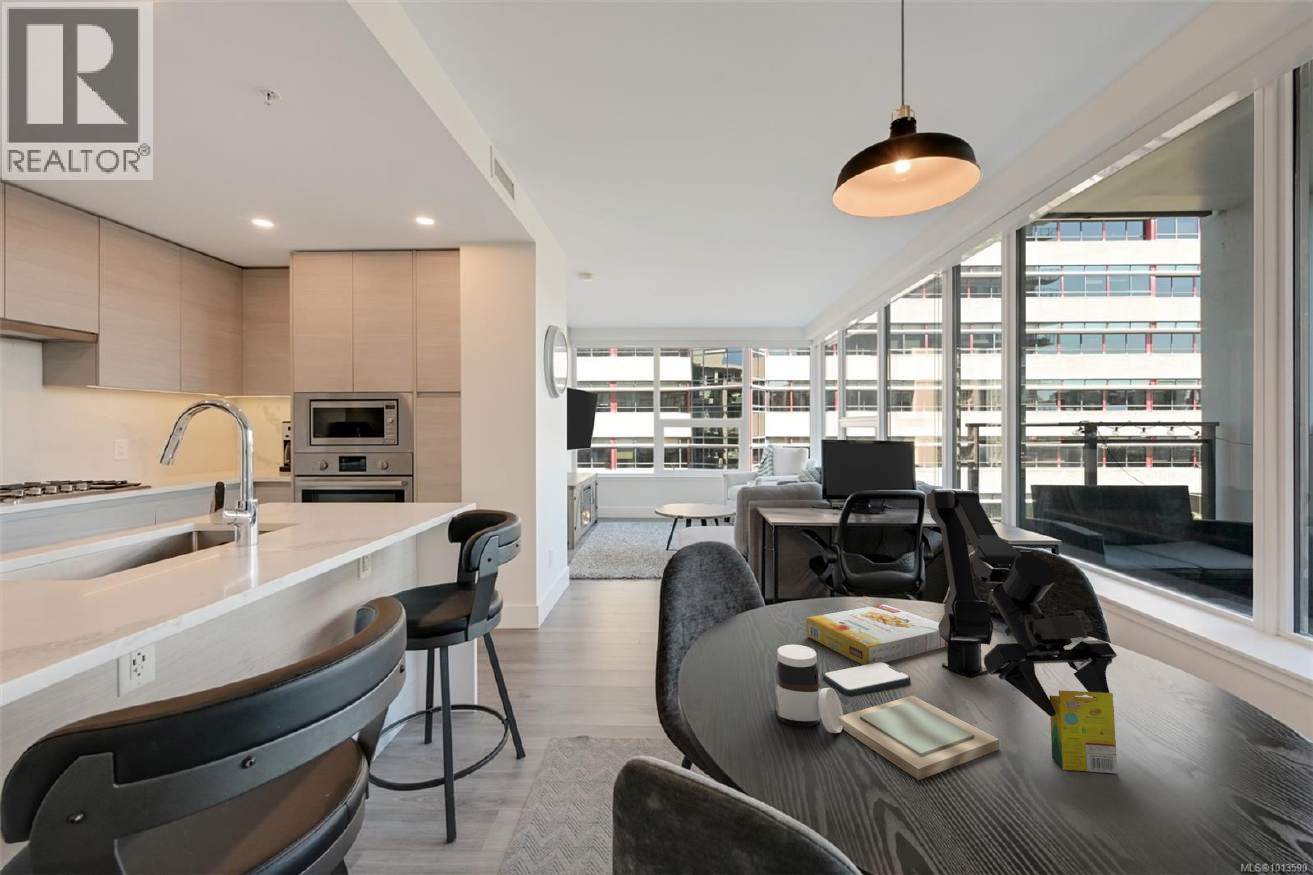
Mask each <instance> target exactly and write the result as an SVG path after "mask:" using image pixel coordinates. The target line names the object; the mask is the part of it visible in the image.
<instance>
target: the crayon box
mask: <svg viewBox="0 0 1313 875" xmlns="http://www.w3.org/2000/svg"><path fill="white" fill-rule="evenodd" d="M1093 697H1096V698H1093ZM1048 698H1049V700H1050V701H1051V703H1052V706H1053V708H1054V710H1055V712H1056V715H1054V716H1049V717H1050V718H1049V719H1050V736H1051V743H1050V744H1051V759H1052V761H1054V763H1056V765H1058V766H1059V767H1060V769H1062V770H1063V771H1077V772H1091V773H1106V774H1107V773H1108V774H1113V775H1118V762H1117V756H1118V755H1117V743H1116V742H1117V741H1116V728H1115V726H1116V724H1115V709H1114V708H1115V707H1114V695H1113V693H1112V692H1110V693H1101V692H1088V691H1080V690H1079V691H1078V690H1061V689H1060V690H1058V695H1049V696H1048Z"/></svg>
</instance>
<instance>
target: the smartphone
mask: <svg viewBox="0 0 1313 875" xmlns="http://www.w3.org/2000/svg"><path fill="white" fill-rule="evenodd" d="M822 680H824V681H825V682H826V683H828V684H829V685H830V686H832V687H833V688H835V689H836V690H838V691H839V692H841V693H842V694H844V695H845V696H856V695H861V694H866V693H871V692H876V691H881V690H888V689H893V688H897V687H903V686H907V685H911V677H910V675H908V674H907V673H905V672H902V670H899V669H897V668H895V667H893V666H892V665H890V664H888V663H887V662H884V663H883V662H877V663H872V664H867V665H863V664H861V665H858V666H853V667H852V666H851V667H848V668H842V669H836V670H833V671H827V672H824V673H822Z"/></svg>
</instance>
